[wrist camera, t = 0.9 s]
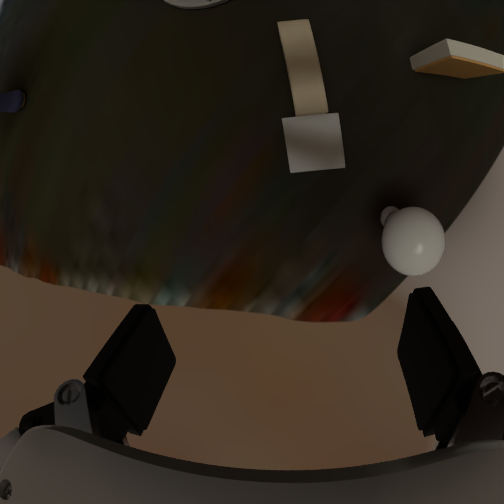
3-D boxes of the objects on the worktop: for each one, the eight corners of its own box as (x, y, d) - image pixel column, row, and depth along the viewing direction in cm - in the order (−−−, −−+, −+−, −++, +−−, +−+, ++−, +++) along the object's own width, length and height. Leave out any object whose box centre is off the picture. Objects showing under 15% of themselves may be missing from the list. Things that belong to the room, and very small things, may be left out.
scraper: (265, 36, 23) (261, 24, 19) (320, 31, 22) (323, 18, 18) (290, 172, 29) (290, 178, 26) (344, 167, 28) (351, 172, 24)
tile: (409, 57, 21) (446, 38, 13) (462, 65, 19) (504, 55, 11) (412, 71, 22) (451, 57, 14) (465, 79, 20) (508, 72, 12)
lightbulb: (361, 240, 31) (387, 290, 21) (365, 187, 28) (399, 217, 19) (408, 241, 30) (447, 288, 20) (414, 190, 28) (463, 221, 18)
